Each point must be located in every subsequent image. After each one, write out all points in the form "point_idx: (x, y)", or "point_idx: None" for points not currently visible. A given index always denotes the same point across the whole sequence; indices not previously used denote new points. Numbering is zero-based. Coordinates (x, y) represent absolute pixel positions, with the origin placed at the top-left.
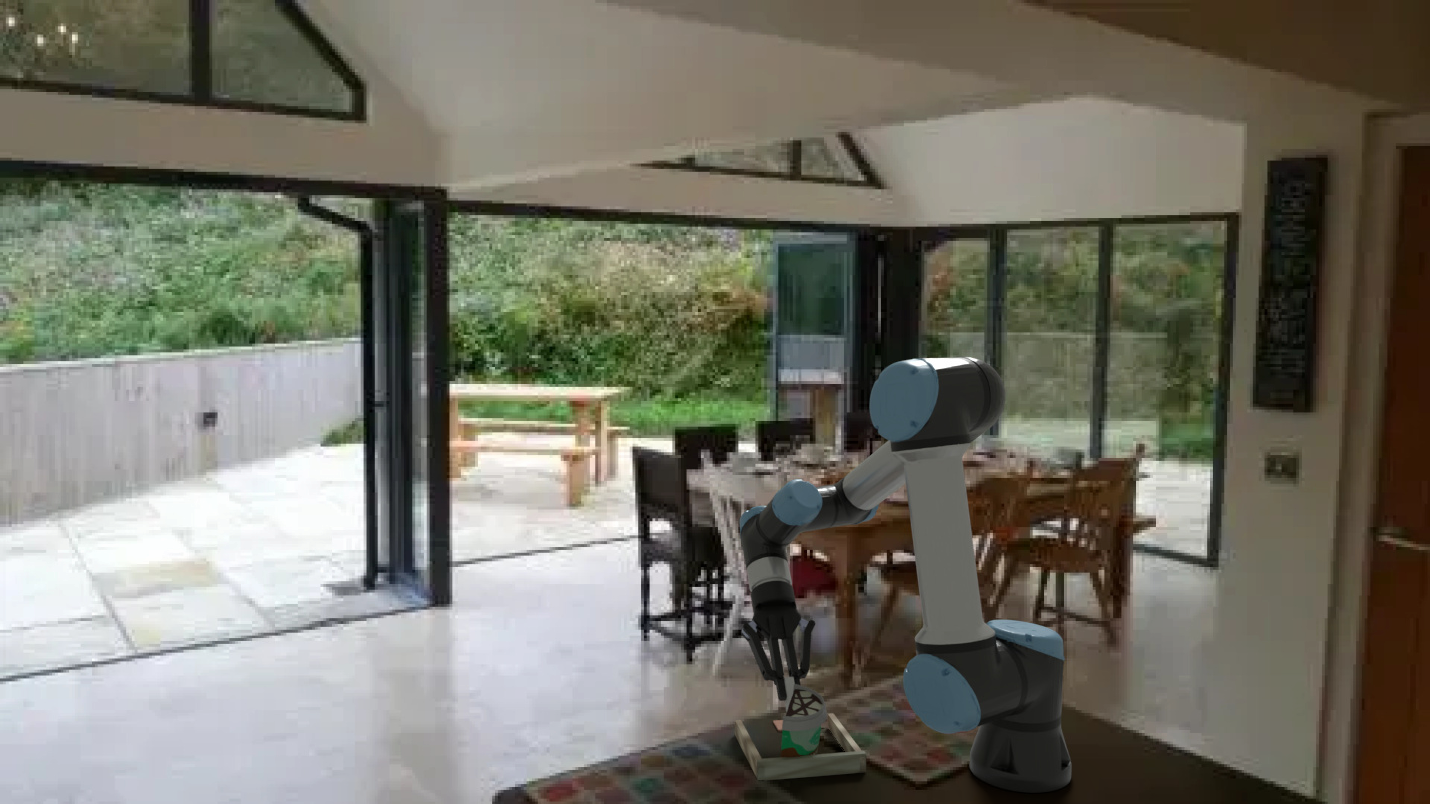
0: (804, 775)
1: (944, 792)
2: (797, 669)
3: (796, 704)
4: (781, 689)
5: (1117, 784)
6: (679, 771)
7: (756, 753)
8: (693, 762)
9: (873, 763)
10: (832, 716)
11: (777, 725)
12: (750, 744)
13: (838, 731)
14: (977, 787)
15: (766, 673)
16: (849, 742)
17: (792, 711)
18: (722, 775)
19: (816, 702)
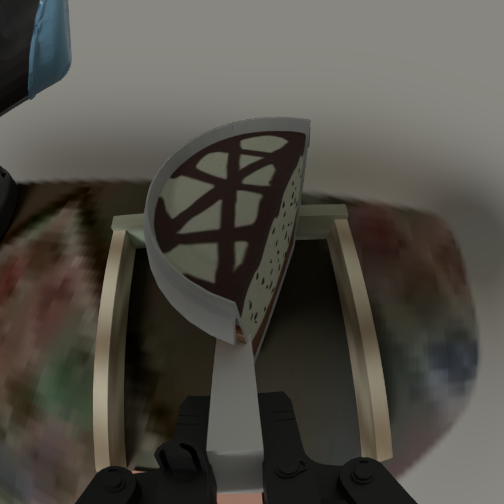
0: None
1: (67, 180)
2: (165, 490)
3: (256, 185)
4: (281, 418)
5: None
6: (459, 277)
7: (349, 256)
8: (448, 310)
9: (97, 271)
10: (101, 453)
11: (257, 500)
12: (363, 304)
13: (111, 374)
14: (30, 191)
15: (375, 462)
16: (114, 287)
17: (277, 161)
18: (397, 256)
19: (172, 211)
